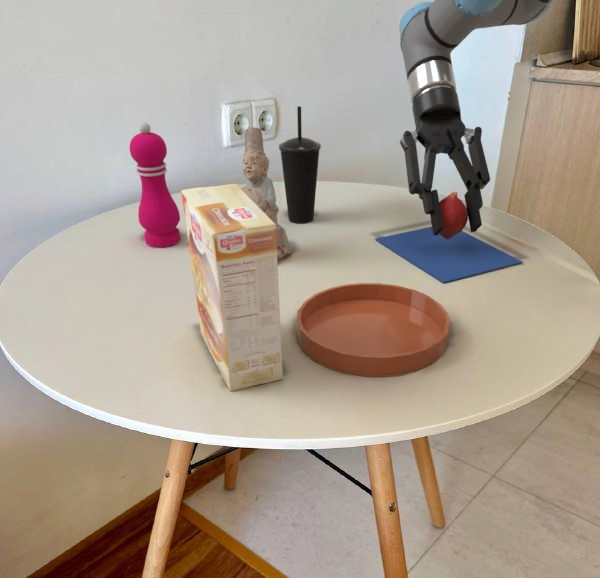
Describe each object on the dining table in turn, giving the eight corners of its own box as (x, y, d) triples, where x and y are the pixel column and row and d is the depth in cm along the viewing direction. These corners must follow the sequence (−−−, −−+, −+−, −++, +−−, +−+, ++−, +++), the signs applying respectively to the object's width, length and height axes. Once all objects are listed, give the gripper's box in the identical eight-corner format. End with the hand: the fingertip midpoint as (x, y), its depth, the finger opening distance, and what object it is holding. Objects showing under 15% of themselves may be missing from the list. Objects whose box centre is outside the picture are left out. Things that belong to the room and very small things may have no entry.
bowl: (478, 351, 76) (482, 332, 74) (343, 393, 69) (344, 373, 68) (392, 289, 91) (394, 272, 89) (273, 319, 84) (273, 301, 82)
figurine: (258, 242, 106) (251, 122, 94) (300, 250, 103) (297, 127, 91) (231, 260, 100) (219, 134, 88) (274, 270, 97) (268, 140, 85)
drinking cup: (302, 209, 120) (300, 100, 108) (328, 219, 115) (330, 106, 103) (273, 219, 116) (268, 107, 104) (299, 229, 111) (297, 113, 99)
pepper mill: (157, 231, 111) (138, 116, 99) (190, 236, 109) (175, 119, 97) (135, 245, 106) (111, 125, 94) (169, 251, 104) (149, 129, 92)
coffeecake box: (199, 333, 81) (178, 189, 69) (248, 323, 83) (237, 181, 71) (228, 393, 70) (210, 233, 58) (285, 380, 72) (278, 222, 60)
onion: (426, 242, 99) (431, 194, 94) (433, 230, 104) (438, 184, 99) (461, 247, 98) (468, 198, 93) (466, 234, 102) (474, 187, 97)
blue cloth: (522, 263, 97) (522, 261, 97) (443, 283, 92) (443, 281, 92) (447, 224, 112) (447, 223, 112) (375, 240, 106) (375, 238, 106)
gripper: (477, 110, 104) (501, 235, 101) (374, 116, 101) (395, 244, 98) (496, 81, 96) (522, 215, 93) (385, 87, 94) (409, 224, 91)
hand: (457, 229), depth 96 cm, fingers closed on onion, 6 cm apart
